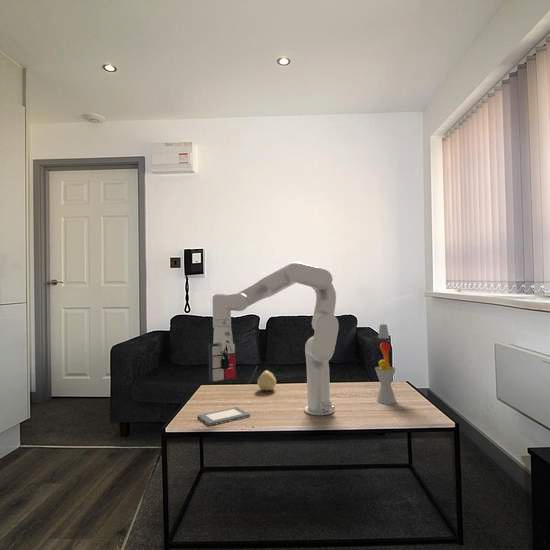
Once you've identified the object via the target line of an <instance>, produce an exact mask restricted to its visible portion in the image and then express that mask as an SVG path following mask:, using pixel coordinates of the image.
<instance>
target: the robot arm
mask: <svg viewBox="0 0 550 550" xmlns="http://www.w3.org/2000/svg"><path fill="white" fill-rule="evenodd" d="M333 279H334V278H333V276H332V273H331V272H329V270H327V269H324V268H321V267H317V266H314V265H313V266H312V265H309V264H305V263H304V262H299V261H294V262H291V263H289V264H287V265H285V266H283V267H281V268H280V269H278V270H276V271H274V272H272V273H270V274H268V275H266V276H264V277H263V278H261V279H259V280H258V281H257V282H256V283H253V285H252V284H251V286H248V287H247V288H244V289H243V290H241V291H239V292H237V293H232V294H228V293H219V294H217V293H215V294H214V295H213V296H212V328H213V337H212V338H213V343H212V344H218V345H219V350H220V351H221V352H222V359H221V369H228V368H229V355H230V354H231V351H232V350H233V343H234V341H233V340H234V339H233V332H232V331H233V330H232V311H234V312H243V311H245V310H246V309H247V308H249V307H250V306H252V305H253V304H256V303H257V302H259V301H261V300H263V299H267V298H271V297H272V296H274V295H275V296H276V294H278V293H280V292H282V291H284V290H285V289H287V288H289V287H291V286H294V285H295V284H298V285H303V286H306V287H310V288H312V289H313V290H314V293H315V296H316V298H315V299H316V300H315V304H314V305H315V306H314V309H313V310H314V311H313V315H312V320H311V326H312V329H313V330H314V333H313V335H312V336H310V337H309V338H308V339H307V341H306V342H305V344H304V346H305V347H304V352H305V353H304V354H305V362H306V384H307V385H306V389H307V392H306V393H307V394H306V395H307V405H306V406H304V409H303V410H304V412H305V413H306V414H308V415H311V416H327V415H328V416H329V415H331V414H333V413H334V412H335V410H336V407H335V405H333V404H332V402H333V401H332V400H331V389H330V388H331V387H330V386H331V385H330V365H329V361H330V360H331V359H332V357H333V355H334V353H335V350H336V349H335V348H336V345H337V344H336V343H337V338H338V335H339V334H338V333H339V327H340V325H339V320H338V318H337V317H336V315H335V310H336V303H337V293H336V290H335V289H336V288H335V287H334V285H333ZM224 350H227V351H224ZM224 353H225V354H224Z"/></svg>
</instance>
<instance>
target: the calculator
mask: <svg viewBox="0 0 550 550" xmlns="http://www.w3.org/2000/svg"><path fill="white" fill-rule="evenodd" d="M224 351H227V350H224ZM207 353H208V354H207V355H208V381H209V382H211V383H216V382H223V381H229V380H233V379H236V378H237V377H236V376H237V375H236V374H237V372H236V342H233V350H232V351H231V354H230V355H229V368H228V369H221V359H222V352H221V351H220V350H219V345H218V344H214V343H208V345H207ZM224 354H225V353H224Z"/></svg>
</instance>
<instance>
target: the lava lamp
mask: <svg viewBox="0 0 550 550" xmlns="http://www.w3.org/2000/svg"><path fill="white" fill-rule="evenodd" d="M378 328H379V329H378V337H377V338H378V339H389V338H390V335H389V330H388V325H387V324H385V323H380V324H379V327H378ZM379 348H380V351H381V353H382V355H383V359H380V360H379V361H378V366H375V367H374V369H375V372H376V376H377V378H378V380H379V383H380V386H379V390H378V392H377V393H378V395H377V398H376V403H378V404H382V403H384V404H383V405H394V404H396V403H397V399H396V397H395V393H394V391H393V388H392V381H393V379H394V375H395V372H396V368H395V367H393V366H390V365H391V364H390V362H389V353H390V348H391V347H390V344H389V343H388V342H386V341H383V342H381V343H380V345H379ZM393 403H394V404H393Z"/></svg>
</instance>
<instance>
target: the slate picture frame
mask: <svg viewBox="0 0 550 550" xmlns="http://www.w3.org/2000/svg"><path fill="white" fill-rule="evenodd" d="M248 416H250V417H251V413H249V412H247V411H245V410H243V409H241V408H240V407H237V406H235V407H230V408H225V409H221V410H216V411H212V412H207V413H203V414H197V418H198V417H199V418H200V419H202V420H203V421H204V422H206V423H207V424H208V425H212V424H216V423H220V424H222V423H221V422H225V421H229V420H233V421H235V420H234V419H237V420H239V419H238V418H242V419H244V418H243V417H246V418H249V417H248ZM199 418H198V419H199ZM200 419H199V420H200ZM202 420H201V421H202ZM203 421H202V422H203ZM204 422H203V423H204ZM229 422H230V421H229ZM206 423H205V424H206ZM225 423H226V422H225ZM207 424H206V425H207ZM208 425H207V426H208ZM216 425H217V424H216ZM212 426H213V425H212Z"/></svg>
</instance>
